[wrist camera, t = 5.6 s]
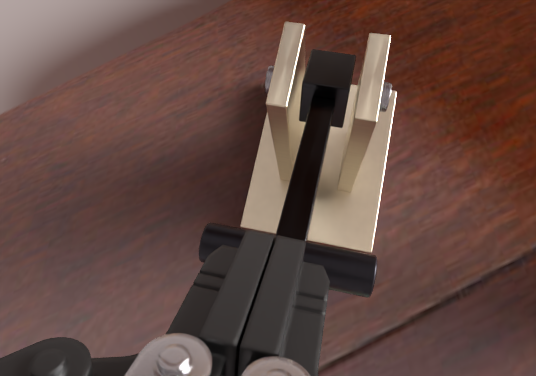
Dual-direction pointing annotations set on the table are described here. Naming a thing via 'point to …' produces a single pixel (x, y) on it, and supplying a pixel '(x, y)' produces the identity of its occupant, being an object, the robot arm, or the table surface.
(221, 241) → the lever
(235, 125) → the table surface
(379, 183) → the bracket
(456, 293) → the table surface
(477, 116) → the table surface
